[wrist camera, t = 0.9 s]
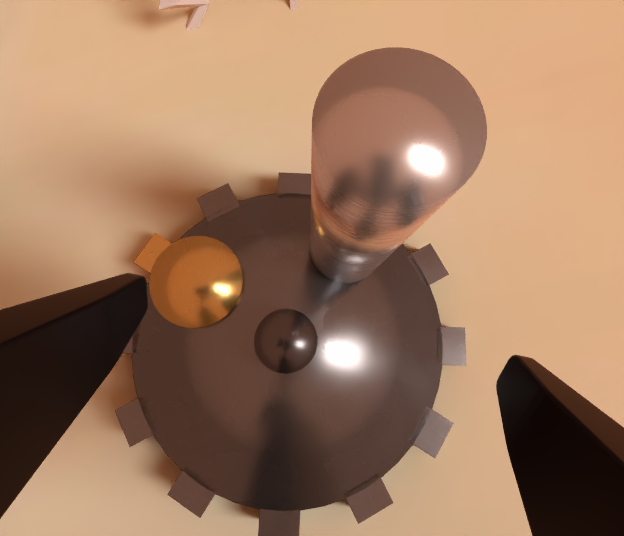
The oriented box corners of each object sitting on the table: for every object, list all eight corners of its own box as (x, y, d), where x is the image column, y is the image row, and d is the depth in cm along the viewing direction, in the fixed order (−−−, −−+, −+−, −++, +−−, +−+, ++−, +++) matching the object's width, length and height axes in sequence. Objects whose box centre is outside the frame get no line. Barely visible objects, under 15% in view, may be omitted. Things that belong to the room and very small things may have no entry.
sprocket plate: (459, 527, 17) (491, 569, 14) (102, 514, 17) (58, 553, 14) (448, 190, 20) (473, 165, 17) (145, 179, 20) (116, 151, 17)
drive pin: (381, 284, 18) (491, 211, 7) (308, 281, 18) (308, 204, 7) (381, 215, 19) (482, 50, 8) (311, 212, 19) (315, 43, 8)
